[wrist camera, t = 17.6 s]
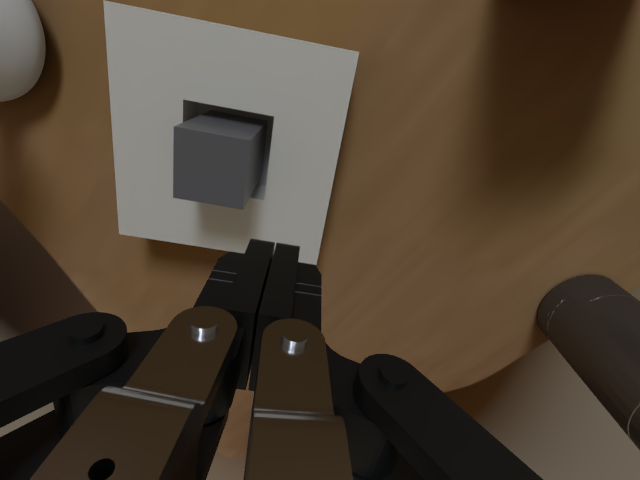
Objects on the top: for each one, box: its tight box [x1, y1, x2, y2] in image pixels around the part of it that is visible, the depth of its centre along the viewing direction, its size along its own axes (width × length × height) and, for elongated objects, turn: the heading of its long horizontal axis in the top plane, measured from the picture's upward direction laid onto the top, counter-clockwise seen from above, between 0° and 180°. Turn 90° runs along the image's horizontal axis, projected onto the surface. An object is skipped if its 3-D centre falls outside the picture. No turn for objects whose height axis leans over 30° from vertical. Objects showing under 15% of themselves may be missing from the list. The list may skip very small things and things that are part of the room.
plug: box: [173, 110, 268, 210], centre depth 29 cm, size 5×5×9 cm
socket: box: [103, 0, 359, 265], centre depth 32 cm, size 18×18×5 cm
